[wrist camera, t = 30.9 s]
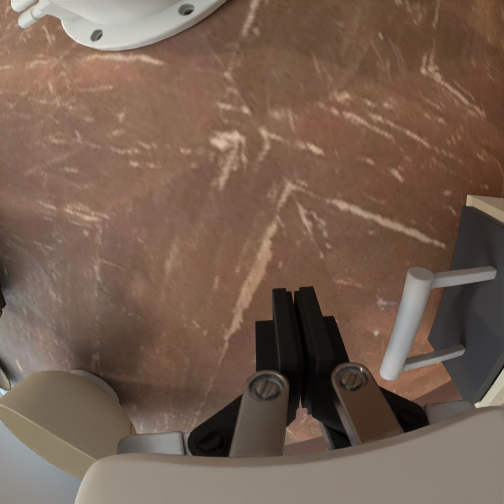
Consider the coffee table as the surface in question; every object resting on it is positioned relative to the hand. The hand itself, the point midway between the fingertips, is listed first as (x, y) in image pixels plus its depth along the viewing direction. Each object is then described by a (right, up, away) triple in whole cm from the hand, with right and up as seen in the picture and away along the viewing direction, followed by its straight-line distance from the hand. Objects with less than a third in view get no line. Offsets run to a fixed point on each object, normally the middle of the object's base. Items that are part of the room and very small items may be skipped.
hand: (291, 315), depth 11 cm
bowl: (-19, -12, +13) cm, 26 cm away
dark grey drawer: (+16, +1, +5) cm, 17 cm away
